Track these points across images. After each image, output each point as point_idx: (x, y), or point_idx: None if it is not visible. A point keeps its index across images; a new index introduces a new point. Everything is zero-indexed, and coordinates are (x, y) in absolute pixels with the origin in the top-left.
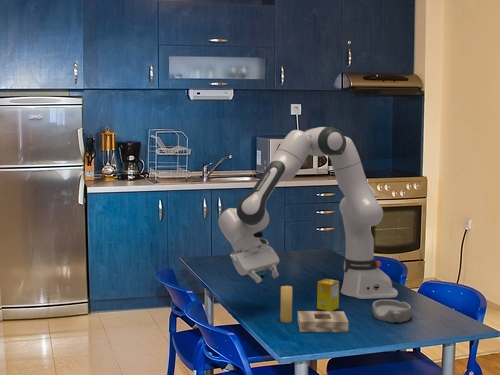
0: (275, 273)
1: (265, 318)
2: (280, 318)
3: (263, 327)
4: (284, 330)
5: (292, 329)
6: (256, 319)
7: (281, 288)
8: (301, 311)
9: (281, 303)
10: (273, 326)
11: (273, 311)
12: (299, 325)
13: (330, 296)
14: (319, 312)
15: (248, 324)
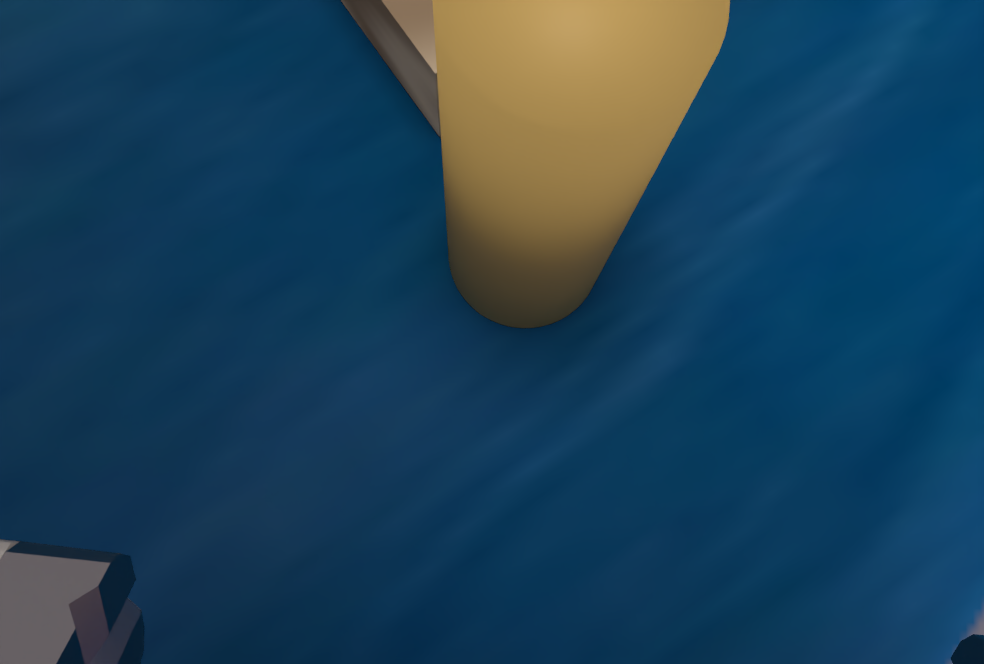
0: (61, 616)
1: (603, 539)
2: (579, 301)
3: (932, 345)
4: (854, 83)
5: (763, 28)
6: (720, 620)
7: (706, 72)
8: (420, 23)
9: (638, 201)
10: (817, 265)
11: (242, 636)
12: None
13: None
14: None
15: (968, 581)
